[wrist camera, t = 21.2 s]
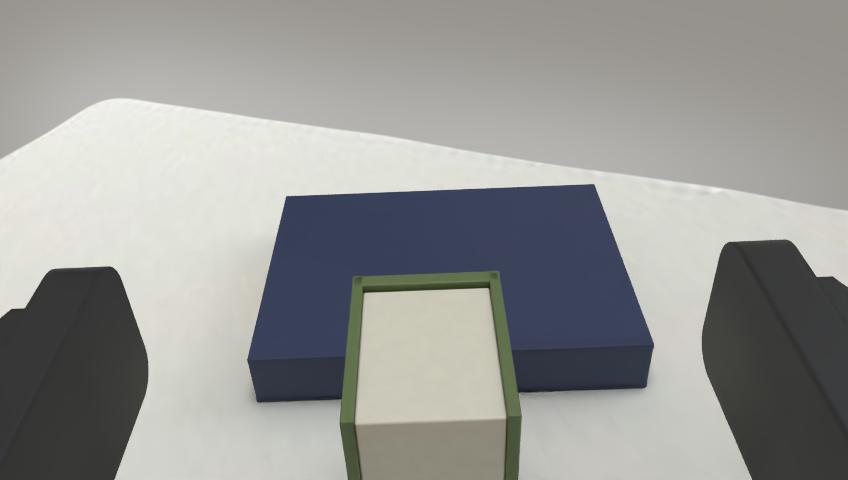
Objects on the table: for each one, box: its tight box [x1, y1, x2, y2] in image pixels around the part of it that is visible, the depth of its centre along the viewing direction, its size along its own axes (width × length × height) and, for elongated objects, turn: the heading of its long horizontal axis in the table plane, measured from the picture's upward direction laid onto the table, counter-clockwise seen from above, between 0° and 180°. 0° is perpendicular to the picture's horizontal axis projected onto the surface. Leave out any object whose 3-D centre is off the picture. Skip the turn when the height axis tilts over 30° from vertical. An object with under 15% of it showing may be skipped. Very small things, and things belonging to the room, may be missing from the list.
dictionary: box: [340, 271, 522, 480], centre depth 29 cm, size 5×7×12 cm
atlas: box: [247, 184, 654, 402], centre depth 45 cm, size 20×15×3 cm
